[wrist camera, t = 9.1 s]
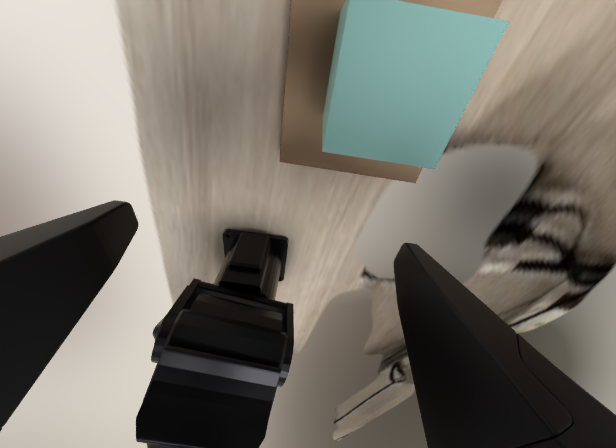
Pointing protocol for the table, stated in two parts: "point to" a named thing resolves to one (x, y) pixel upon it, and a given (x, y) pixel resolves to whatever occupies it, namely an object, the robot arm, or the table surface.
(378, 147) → the teal block
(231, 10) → the table surface
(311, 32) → the base plinth
